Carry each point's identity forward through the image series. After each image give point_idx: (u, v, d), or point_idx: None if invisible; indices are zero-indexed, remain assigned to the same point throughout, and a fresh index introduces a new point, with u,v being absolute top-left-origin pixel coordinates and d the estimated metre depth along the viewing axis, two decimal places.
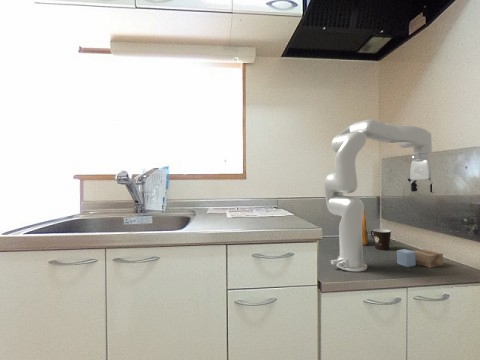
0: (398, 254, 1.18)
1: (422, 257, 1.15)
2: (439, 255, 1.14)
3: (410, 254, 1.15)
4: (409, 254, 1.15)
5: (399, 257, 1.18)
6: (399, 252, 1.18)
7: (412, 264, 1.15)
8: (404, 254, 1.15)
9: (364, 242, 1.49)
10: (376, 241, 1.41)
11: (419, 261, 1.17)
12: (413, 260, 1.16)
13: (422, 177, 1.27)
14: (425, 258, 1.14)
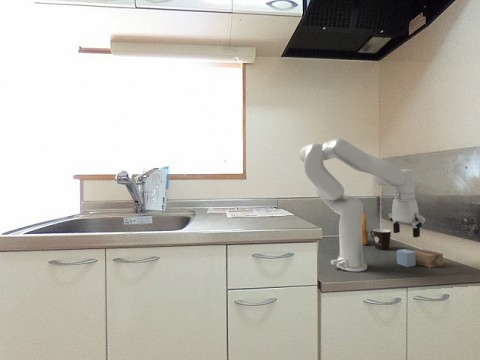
0: (398, 254, 1.18)
1: (422, 257, 1.15)
2: (439, 255, 1.14)
3: (410, 254, 1.15)
4: (409, 254, 1.15)
5: (399, 257, 1.18)
6: (399, 252, 1.18)
7: (412, 264, 1.15)
8: (404, 254, 1.15)
9: (364, 242, 1.49)
10: (376, 241, 1.41)
11: (419, 261, 1.17)
12: (413, 260, 1.16)
13: (404, 219, 1.15)
14: (425, 258, 1.14)
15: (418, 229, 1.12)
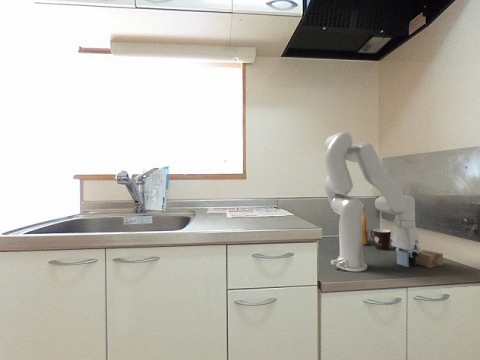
0: (398, 254, 1.18)
1: (422, 257, 1.15)
2: (439, 255, 1.14)
3: None
4: None
5: (399, 257, 1.18)
6: (399, 252, 1.18)
7: None
8: (404, 254, 1.15)
9: (364, 242, 1.49)
10: (376, 241, 1.41)
11: (419, 261, 1.17)
12: None
13: (404, 247, 1.15)
14: (425, 258, 1.14)
15: (414, 258, 1.14)
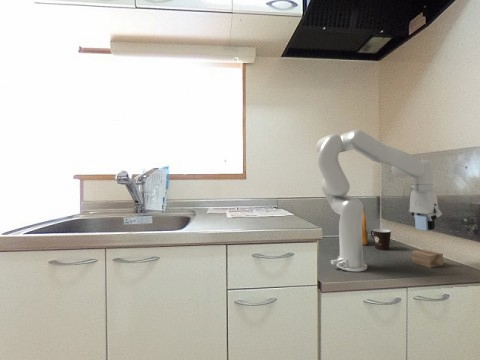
0: (416, 219, 1.18)
1: (422, 257, 1.15)
2: (439, 255, 1.14)
3: None
4: None
5: (417, 222, 1.18)
6: (417, 217, 1.17)
7: None
8: (423, 218, 1.15)
9: (364, 242, 1.49)
10: (376, 241, 1.41)
11: (419, 261, 1.17)
12: None
13: (423, 211, 1.15)
14: (425, 258, 1.14)
15: (433, 222, 1.14)
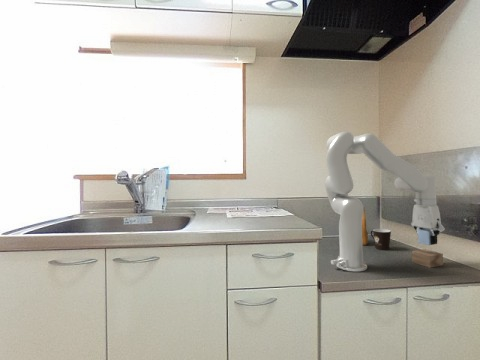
0: (419, 233, 1.18)
1: (422, 257, 1.15)
2: (439, 255, 1.14)
3: None
4: None
5: (420, 236, 1.18)
6: (420, 231, 1.18)
7: None
8: (426, 233, 1.15)
9: (364, 242, 1.49)
10: (376, 241, 1.41)
11: (419, 261, 1.17)
12: None
13: (426, 225, 1.15)
14: (425, 258, 1.14)
15: (435, 236, 1.14)
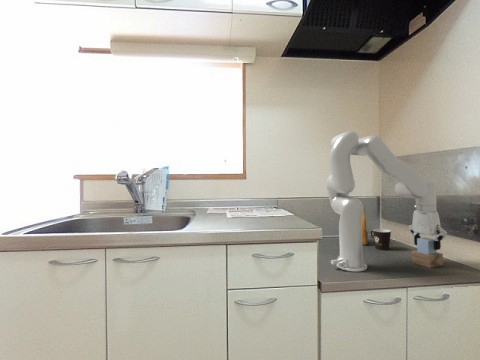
0: (418, 242, 1.18)
1: (422, 257, 1.15)
2: (439, 255, 1.14)
3: (431, 242, 1.15)
4: (430, 242, 1.15)
5: (419, 245, 1.18)
6: (420, 240, 1.18)
7: (433, 252, 1.15)
8: (425, 242, 1.15)
9: (364, 242, 1.49)
10: (376, 241, 1.41)
11: (419, 261, 1.17)
12: None
13: (426, 231, 1.15)
14: (425, 258, 1.14)
15: (439, 242, 1.12)
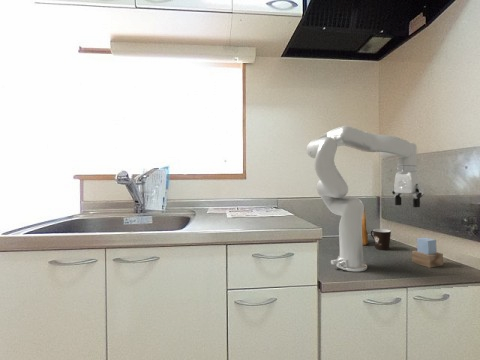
0: (418, 242, 1.18)
1: (422, 257, 1.15)
2: (439, 255, 1.14)
3: (431, 242, 1.15)
4: (430, 242, 1.15)
5: (419, 245, 1.18)
6: (420, 240, 1.18)
7: (433, 252, 1.15)
8: (425, 242, 1.15)
9: (364, 242, 1.49)
10: (376, 241, 1.41)
11: (419, 261, 1.17)
12: (434, 248, 1.15)
13: (405, 190, 1.20)
14: (425, 258, 1.14)
15: (418, 199, 1.17)
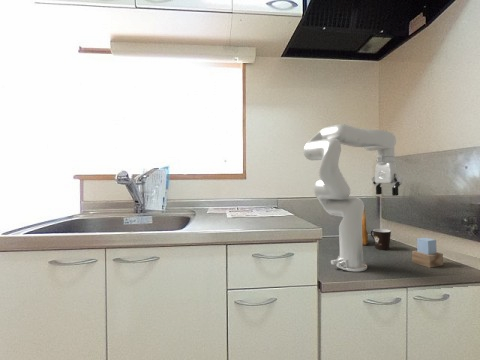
0: (418, 242, 1.18)
1: (422, 257, 1.15)
2: (439, 255, 1.14)
3: (431, 242, 1.15)
4: (430, 242, 1.15)
5: (419, 245, 1.18)
6: (420, 240, 1.18)
7: (433, 252, 1.15)
8: (425, 242, 1.15)
9: (364, 242, 1.49)
10: (376, 241, 1.41)
11: (419, 261, 1.17)
12: (434, 248, 1.15)
13: (385, 180, 1.28)
14: (425, 258, 1.14)
15: (397, 188, 1.25)
